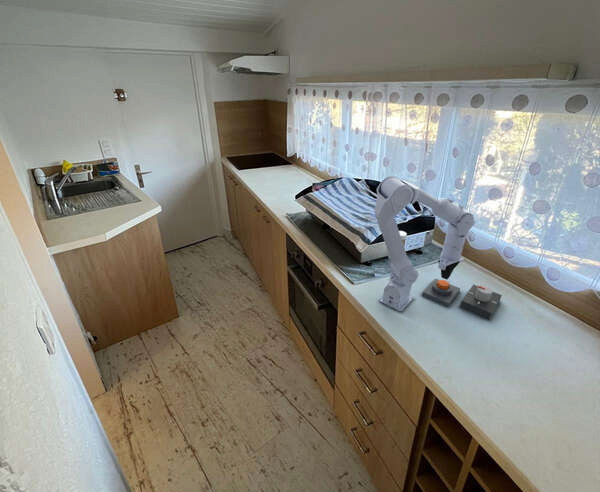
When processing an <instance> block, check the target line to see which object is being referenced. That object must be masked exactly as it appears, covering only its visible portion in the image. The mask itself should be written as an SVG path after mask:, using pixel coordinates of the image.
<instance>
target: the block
mask: <svg viewBox="0 0 600 492" xmlns="http://www.w3.org/2000/svg"><path fill="white" fill-rule="evenodd" d="M439 280H440V279H439V278H436V277H435V278H434V279H433V280H432V282H431V283H430V284H429V285H428V286H427V287H426V288H425V289H424V290H423V291H422V293H421V296H422V297H424V298H427V299H428V300H431V301H433V302H435V303H437V304H440V305H442V306H444V307H447V308H449V306H450V305H451V304H452V302H453V301H454V300H455V298H456V297H457V296H458V294H459V293H460V290H461V287H458V286H455V285H454V284H451V283H449V287H448V289H447V290H443V289H440V288H438V287H437V284H438V281H439Z"/></svg>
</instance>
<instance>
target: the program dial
mask: <svg viewBox="0 0 600 492" xmlns="http://www.w3.org/2000/svg"><path fill="white" fill-rule="evenodd" d="M477 286H478V287H477V290H476V293H475V297H476V299H478V300H480V301H483V302H488V301H489V300H490V297H491V295H492V292H494V290H493V289H492V288H491V287H490V286H487V285H482V284H481V285H477Z"/></svg>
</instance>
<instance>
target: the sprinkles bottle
mask: <svg viewBox="0 0 600 492" xmlns="http://www.w3.org/2000/svg"><path fill="white" fill-rule="evenodd" d="M399 233H400V236H401V239H402V242H403V245H404V247H405V244H406V240H407V237H408V233H407V232H406V231H404V230H399Z"/></svg>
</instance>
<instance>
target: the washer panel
mask: <svg viewBox="0 0 600 492" xmlns="http://www.w3.org/2000/svg"><path fill="white" fill-rule="evenodd" d="M478 286H479V285H476V284H472V285H471V287H470V289H469V290H468V291H467V293H466V294H465V296H463V298H462V300H461V302H460V305H459V308H460V309H462V310H465V311H466V312H470V313H472V314H474V315H476V316H478V317H481V318H484V319H485V320H487V321H490V319H492V316H493V314H494V312H495V311H496V309H497V307H498V305H499V303H500V302H501V298H502V294H500V293H498V292H495V291H493V292H492V295H491V297H490V300H489V301H488V302H483V301H480V300H478V299H476V297H475V293H476V290H477V287H478Z"/></svg>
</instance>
